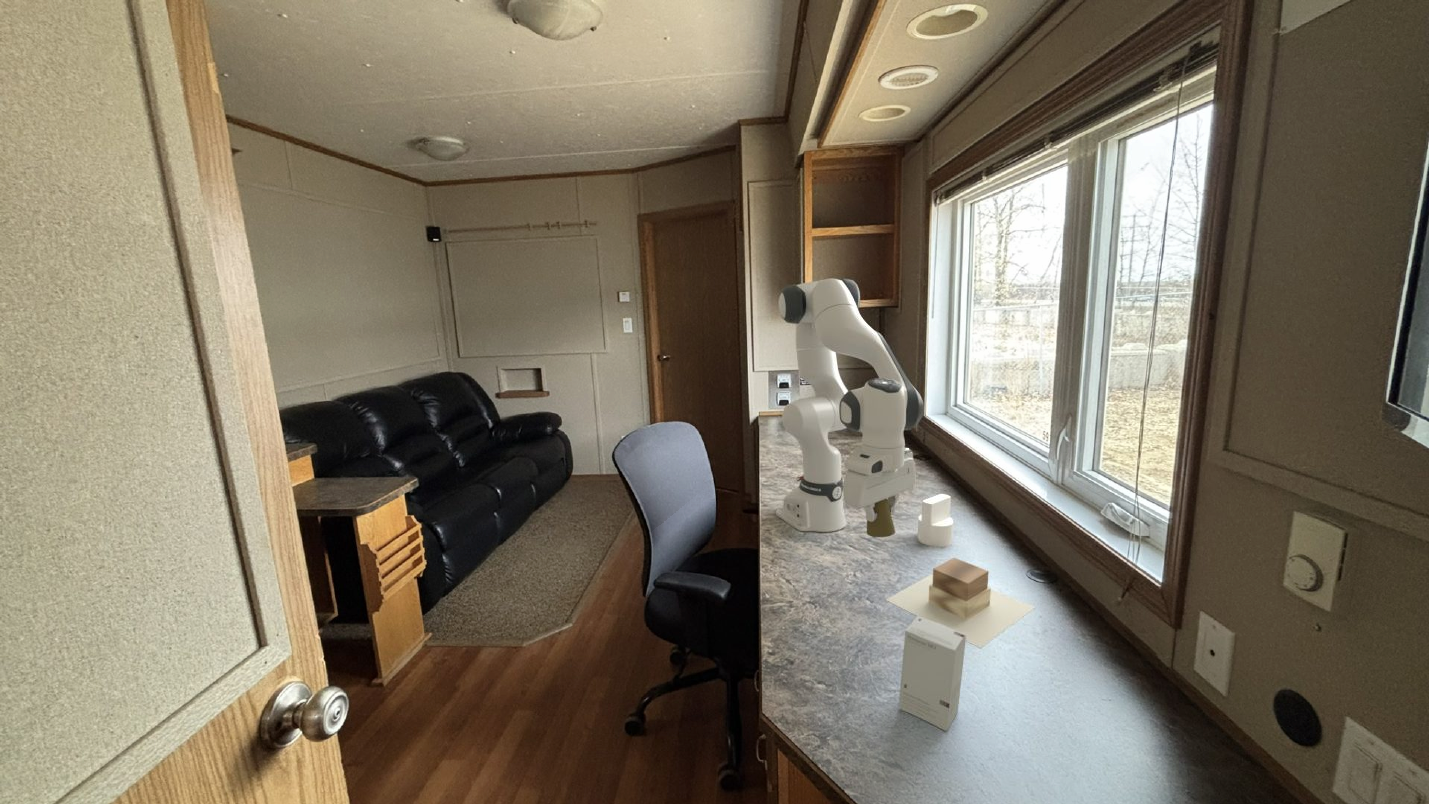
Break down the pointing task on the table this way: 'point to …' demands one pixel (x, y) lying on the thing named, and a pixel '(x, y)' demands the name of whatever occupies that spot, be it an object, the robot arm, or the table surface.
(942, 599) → the bottom block
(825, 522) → the robot arm
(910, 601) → the felt mat
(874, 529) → the olive rounded upright piece
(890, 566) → the table surface
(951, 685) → the skincare box
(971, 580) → the top block
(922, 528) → the cylinder with rectangular tab
